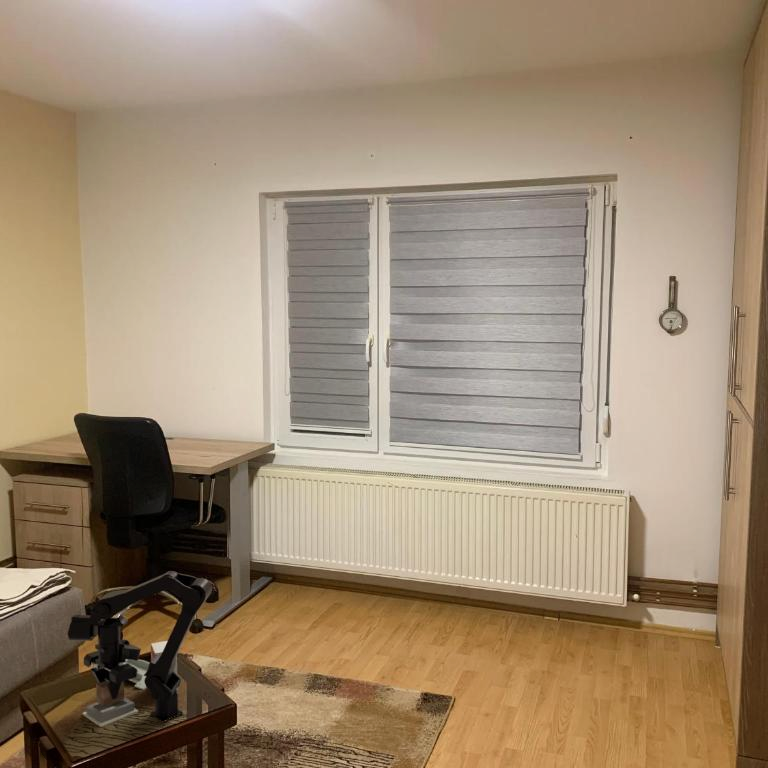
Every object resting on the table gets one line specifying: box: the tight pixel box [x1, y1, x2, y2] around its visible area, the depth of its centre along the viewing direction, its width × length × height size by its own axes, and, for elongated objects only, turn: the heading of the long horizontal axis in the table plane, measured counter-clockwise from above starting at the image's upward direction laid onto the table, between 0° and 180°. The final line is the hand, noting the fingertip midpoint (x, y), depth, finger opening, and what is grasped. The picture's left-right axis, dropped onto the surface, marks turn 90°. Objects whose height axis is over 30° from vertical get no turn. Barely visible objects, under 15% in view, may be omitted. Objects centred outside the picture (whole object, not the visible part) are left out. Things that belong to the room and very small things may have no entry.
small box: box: [150, 640, 178, 693], centre depth 228 cm, size 8×6×13 cm
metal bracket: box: [119, 659, 150, 691], centre depth 237 cm, size 14×6×15 cm
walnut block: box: [95, 681, 125, 707], centre depth 214 cm, size 4×6×5 cm, turn 138°
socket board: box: [82, 696, 139, 728], centre depth 214 cm, size 10×11×2 cm
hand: (110, 696), depth 214 cm, fingers closed on walnut block, 4 cm apart
